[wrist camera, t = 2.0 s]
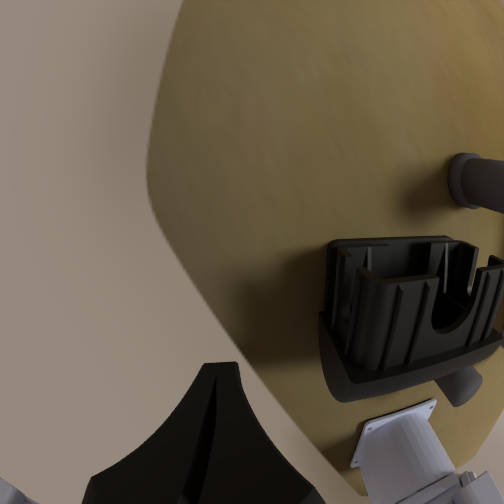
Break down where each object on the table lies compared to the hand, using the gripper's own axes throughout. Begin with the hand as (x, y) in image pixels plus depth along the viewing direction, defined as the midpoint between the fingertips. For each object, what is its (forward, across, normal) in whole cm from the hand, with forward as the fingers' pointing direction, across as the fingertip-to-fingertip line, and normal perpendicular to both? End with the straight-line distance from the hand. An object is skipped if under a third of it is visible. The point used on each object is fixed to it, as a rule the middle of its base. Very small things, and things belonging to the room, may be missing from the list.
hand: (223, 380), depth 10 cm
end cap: (+6, -10, 0) cm, 12 cm away
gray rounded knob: (+6, -16, -7) cm, 18 cm away
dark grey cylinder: (+6, -16, +7) cm, 18 cm away
